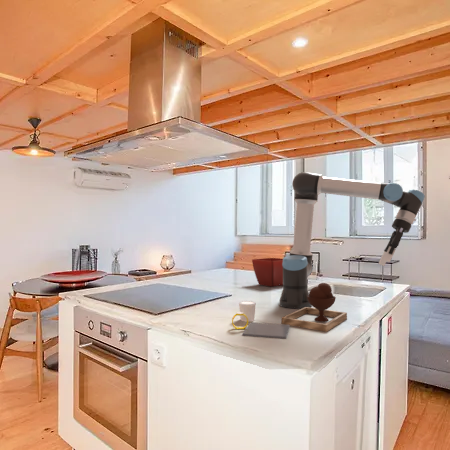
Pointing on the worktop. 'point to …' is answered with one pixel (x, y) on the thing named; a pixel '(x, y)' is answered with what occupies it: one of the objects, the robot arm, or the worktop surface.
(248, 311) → the white cup
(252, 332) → the plate
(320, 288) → the ice cream bowl
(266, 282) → the plant pot
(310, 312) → the wooden picture frame
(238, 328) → the watch
